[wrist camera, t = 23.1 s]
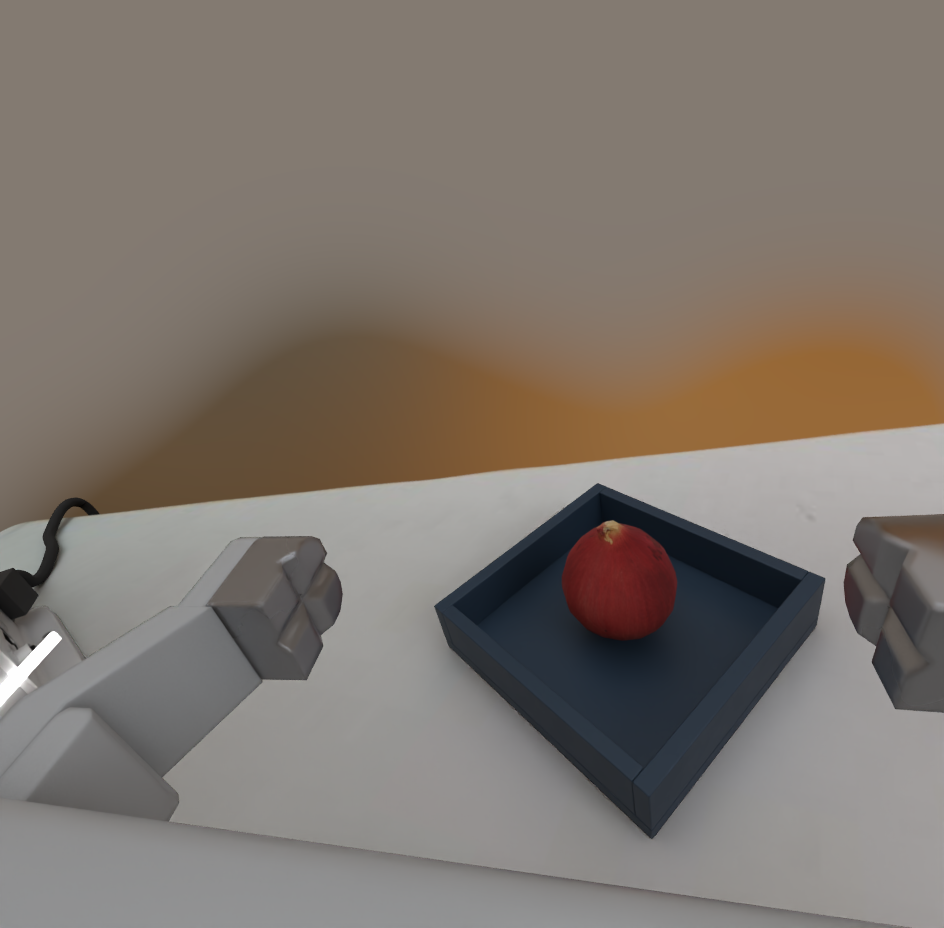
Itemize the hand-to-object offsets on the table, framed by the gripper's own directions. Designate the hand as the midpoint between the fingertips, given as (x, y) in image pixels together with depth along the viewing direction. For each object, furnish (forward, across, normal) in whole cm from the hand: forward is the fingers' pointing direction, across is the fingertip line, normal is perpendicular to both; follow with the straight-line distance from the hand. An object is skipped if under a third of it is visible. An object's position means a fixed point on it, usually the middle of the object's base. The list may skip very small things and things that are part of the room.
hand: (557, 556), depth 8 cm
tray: (+14, 0, +20) cm, 25 cm away
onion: (+14, -1, +20) cm, 24 cm away
